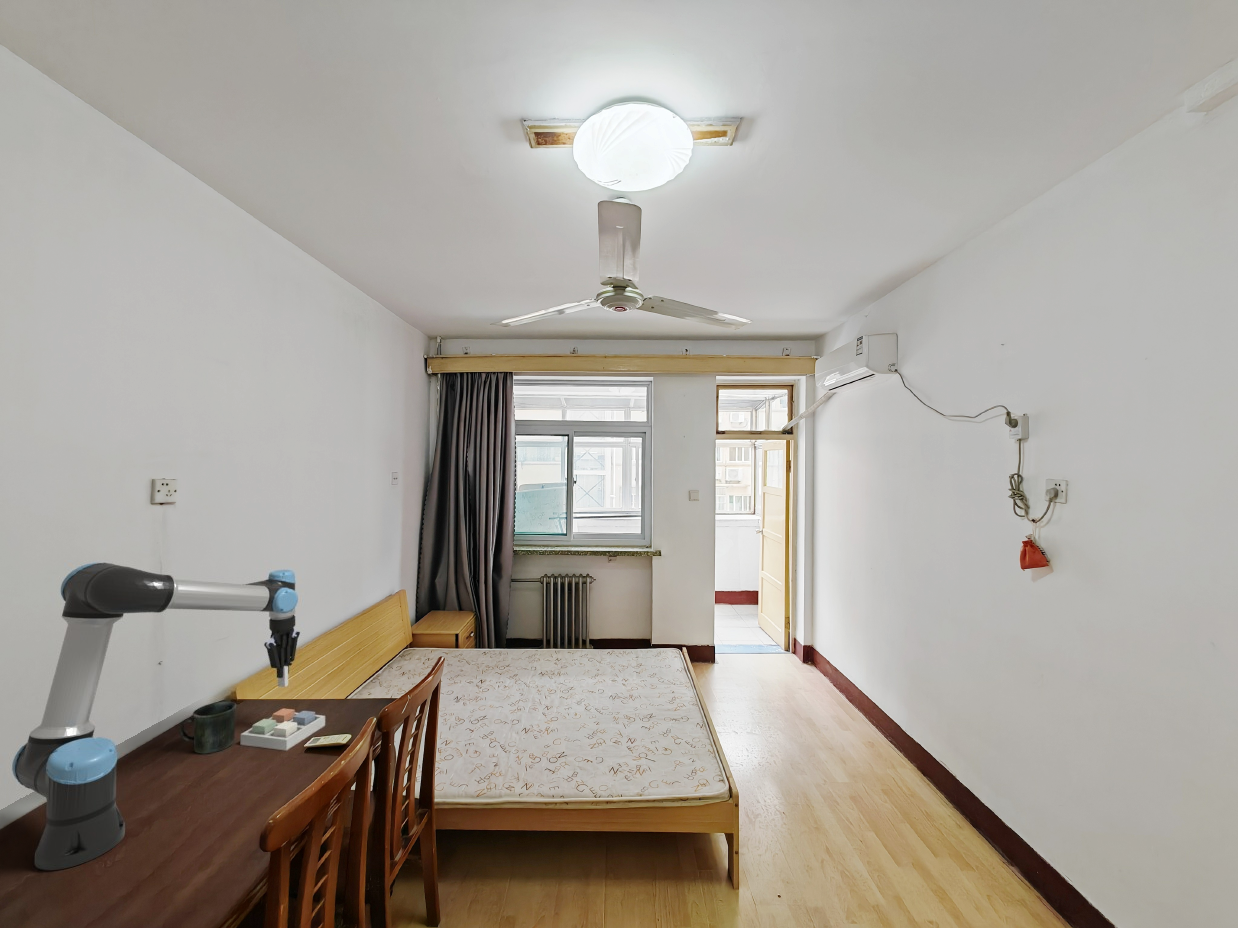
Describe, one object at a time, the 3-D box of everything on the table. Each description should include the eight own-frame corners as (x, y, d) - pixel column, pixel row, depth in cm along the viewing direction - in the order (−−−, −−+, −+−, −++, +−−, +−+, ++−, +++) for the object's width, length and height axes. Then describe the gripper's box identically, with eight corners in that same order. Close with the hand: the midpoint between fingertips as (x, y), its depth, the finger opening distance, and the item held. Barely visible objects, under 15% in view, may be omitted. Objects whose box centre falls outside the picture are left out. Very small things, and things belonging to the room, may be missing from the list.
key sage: (264, 736, 178) (264, 726, 178) (252, 734, 178) (252, 724, 178) (275, 729, 182) (276, 719, 182) (263, 727, 183) (264, 718, 183)
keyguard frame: (286, 750, 174) (286, 739, 174) (240, 744, 177) (240, 733, 177) (325, 725, 190) (325, 715, 190) (282, 720, 193) (282, 710, 193)
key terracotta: (284, 724, 185) (284, 715, 185) (272, 723, 186) (272, 714, 186) (294, 718, 190) (294, 709, 190) (282, 717, 191) (283, 708, 191)
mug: (232, 750, 173) (232, 712, 173) (174, 760, 167) (174, 720, 167) (239, 735, 183) (239, 698, 183) (184, 743, 177) (185, 706, 177)
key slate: (304, 727, 184) (304, 717, 184) (292, 725, 185) (292, 716, 185) (314, 720, 188) (315, 711, 188) (303, 719, 189) (303, 710, 189)
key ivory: (286, 738, 176) (286, 729, 176) (273, 737, 177) (273, 727, 177) (297, 731, 181) (297, 722, 181) (284, 730, 181) (284, 721, 181)
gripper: (276, 622, 179) (277, 694, 180) (306, 611, 192) (307, 678, 192) (256, 621, 181) (257, 692, 181) (288, 610, 193) (288, 677, 194)
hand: (283, 685), depth 187 cm, fingers closed
